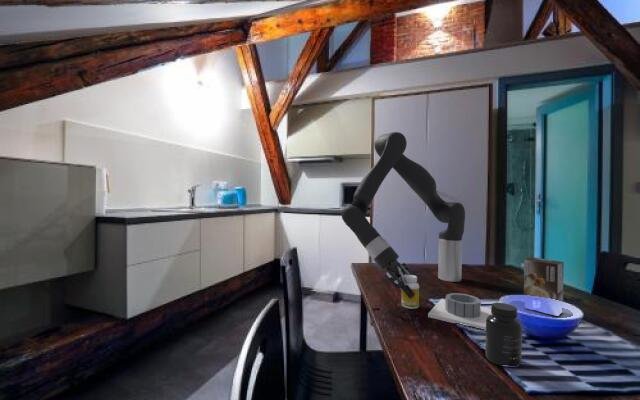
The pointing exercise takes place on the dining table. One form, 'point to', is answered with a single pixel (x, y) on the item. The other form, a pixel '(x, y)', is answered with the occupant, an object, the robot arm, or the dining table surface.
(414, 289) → the supplement bottle
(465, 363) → the dining table surface
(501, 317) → the supplement bottle
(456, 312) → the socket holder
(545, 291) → the coffee box
